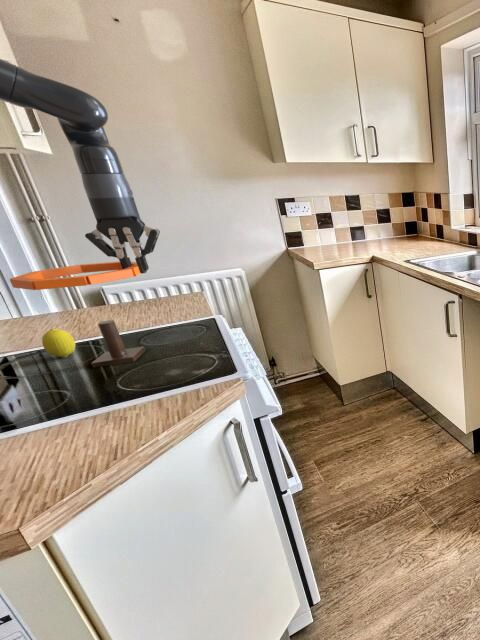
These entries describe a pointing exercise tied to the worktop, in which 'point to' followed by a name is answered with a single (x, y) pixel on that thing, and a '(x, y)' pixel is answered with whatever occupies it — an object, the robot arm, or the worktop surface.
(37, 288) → the ring
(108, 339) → the post
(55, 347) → the lemon
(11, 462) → the worktop surface
